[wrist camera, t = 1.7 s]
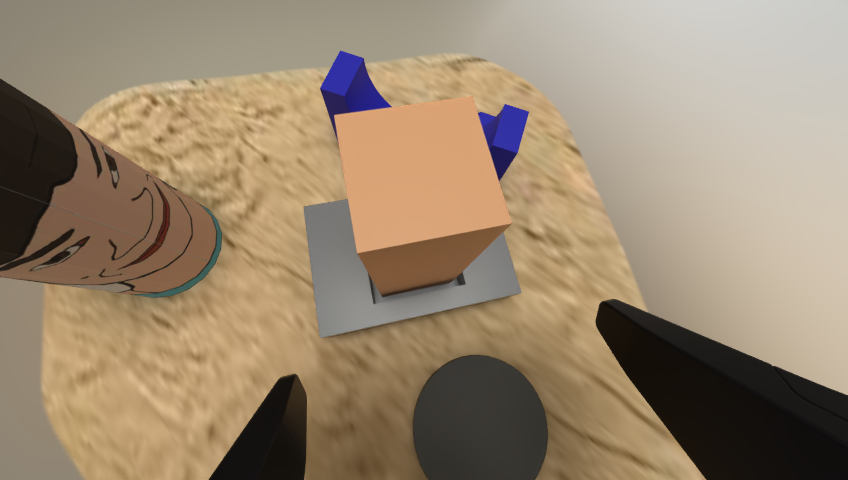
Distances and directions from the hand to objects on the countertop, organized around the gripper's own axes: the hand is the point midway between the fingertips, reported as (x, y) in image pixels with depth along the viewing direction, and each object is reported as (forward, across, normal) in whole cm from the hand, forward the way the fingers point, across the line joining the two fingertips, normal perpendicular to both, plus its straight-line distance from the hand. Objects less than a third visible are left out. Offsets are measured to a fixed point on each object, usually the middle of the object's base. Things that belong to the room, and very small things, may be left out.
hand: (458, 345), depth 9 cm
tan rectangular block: (+12, 0, +4) cm, 12 cm away
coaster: (+4, -2, +12) cm, 13 cm away
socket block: (+12, 0, +5) cm, 13 cm away
